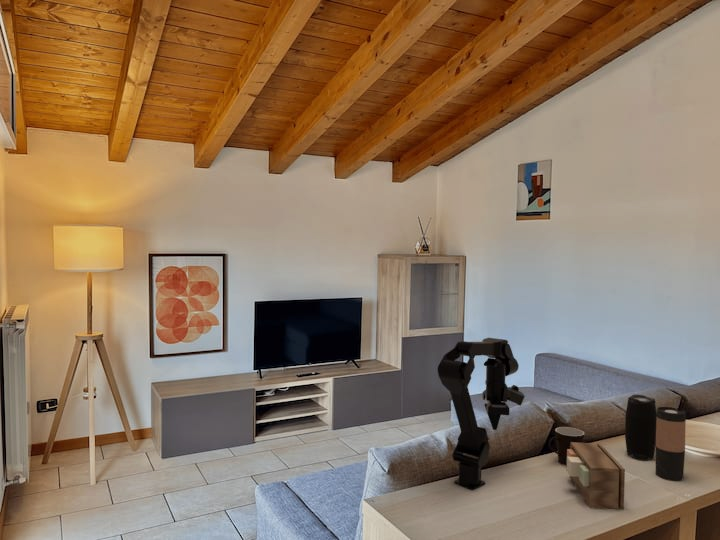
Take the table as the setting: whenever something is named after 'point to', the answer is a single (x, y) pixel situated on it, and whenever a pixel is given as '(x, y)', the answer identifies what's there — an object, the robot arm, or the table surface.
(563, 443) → the coffee mug
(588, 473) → the key sage
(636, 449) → the portable speaker
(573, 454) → the key terracotta
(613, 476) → the key panel
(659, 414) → the travel mug
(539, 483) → the table surface
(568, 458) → the key cream
